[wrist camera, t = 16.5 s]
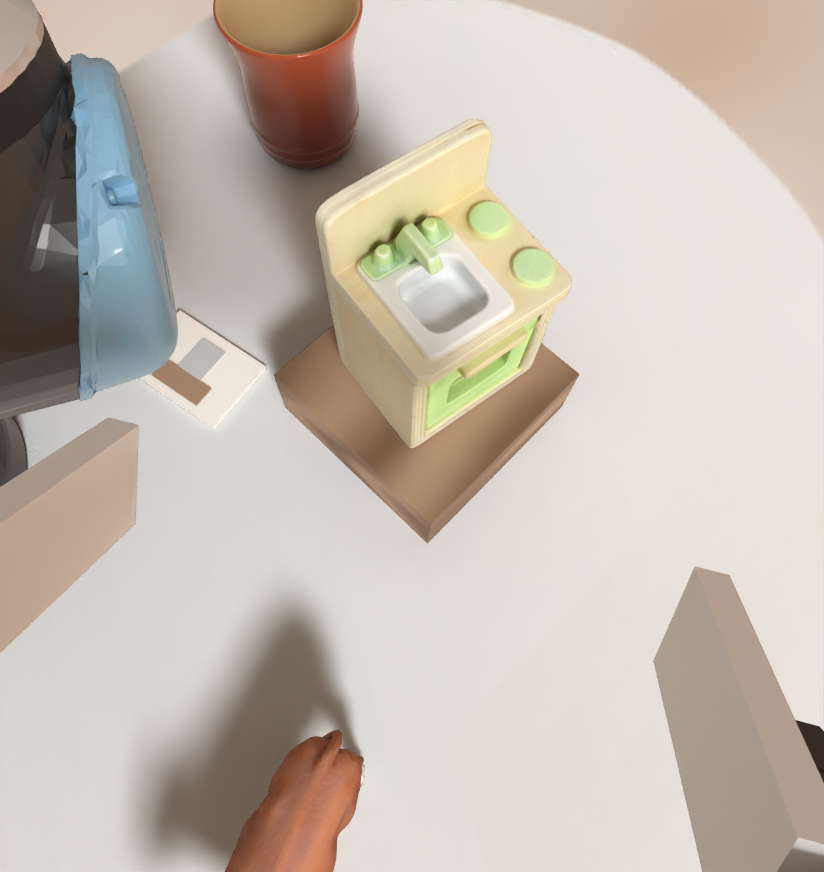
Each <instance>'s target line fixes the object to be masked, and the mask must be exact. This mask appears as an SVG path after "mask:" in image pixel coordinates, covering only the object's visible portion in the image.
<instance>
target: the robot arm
mask: <svg viewBox="0 0 824 872" xmlns="http://www.w3.org/2000/svg"><path fill="white" fill-rule="evenodd" d="M177 340H178V324H177V316H176V309H175V303H174V297H173V291H172V286H171V280H170V275H169V270H168V265H167V261H166V256H165V251H164V246H163V242H162V237H161V233H160V228H159V224H158V219H157V215H156V211H155V206H154V202H153V198H152V194H151V189H150V185H149V181H148V177H147V172H146V168H145V164H144V160H143V156H142V152H141V148H140V144H139V141H138V137H137V133H136V129H135V126H134V122H133V118H132V115H131V111H130V108H129V105H128V102H127V98H126V95H125V93H124V91H123V89H122V86H121V84H120V80H119V74H118V72H117V70H116V69H115V67H114V66H113V65H112V64H111V63H110V62H109V61H107V60H105V59H102V58H91V59H90V58H88V57H86V56H85V55H83V54H76V55H72V56H71V59H70V61H68V62H67V63H65V62H64V61H63V60H62V59H61V58H60V56H59V55H58V53H57V51H56V48H55V46H54V44H53V42H52V40H51V38H50V36H49V33H48V31H47V29H46V27H45V25H44V23H43V21H42V17H41V15H40V14H39V12H38V11H37V9H36V7H35V5H34V4H33V2H32V0H0V653H1V652H2V651H3V650H4V649H5V648H6V647H7V646H8V645H9V644H10V643H11V642H12V641H13V640H14V639H15V638H16V637H17V636H18V635H19V634H21V633H22V632H23V631H24V630H25V629H26V628H27V627H28V626H29V625H30V624H31V623H32V622H33V621H34V620H35V619H36V618H37V617H38V616H39V615H40V614H41V613H43V612H44V611H45V610H46V609H47V608H48V607H49V606H50V605H51V604H52V603H53V602H54V601H55V600H56V599H57V598H58V597H59V596H60V595H61V594H62V593H63V592H65V591H66V590H67V589H68V588H69V587H70V586H71V585H72V584H73V583H74V582H75V581H76V580H77V579H78V578H79V577H80V576H81V575H82V574H83V573H84V572H86V571H87V570H88V569H89V568H90V567H91V566H92V565H93V564H94V563H95V562H96V561H97V560H98V559H99V558H100V557H101V556H102V555H103V554H104V553H105V552H106V551H108V550H109V549H110V548H111V547H112V546H113V545H114V544H115V543H116V542H117V541H118V540H119V539H120V538H121V537H122V536H123V535H124V534H125V533H126V532H127V531H128V530H130V529H131V528H132V527H133V526H134V525H135V521H136V493H137V465H138V437H139V425H136V424H132V423H128V422H124V421H120V420H116V419H112V418H107V419H105V420H104V421H102V422H101V423H99V424H98V425H96V426H94V427H93V428H91V429H90V430H88V431H87V432H85V433H84V434H82V435H80V436H79V437H77V438H76V439H74V440H73V441H71V442H70V443H68V444H66V445H65V446H63V447H62V448H60V449H59V450H57V451H56V452H54V453H52V454H51V455H49V456H48V457H46V458H45V459H43V460H42V461H40V462H38V463H37V464H35V465H34V466H32V467H31V468H29V469H28V470H27V459H26V451H25V446H24V442H23V438H22V435H21V432H20V430H19V428H18V426H17V423H16V422H15V420H14V418H13V417H12V416H15V415H19V414H23V413H27V412H31V411H35V410H39V409H43V408H47V407H50V406H54V405H58V404H62V403H66V402H70V401H74V400H78V399H79V400H81V401H83V400H87V399H89V398H92V397H93V396H94V394H95V393H96V392H97V391H100V390H103V389H106V388H109V387H112V386H115V385H118V384H121V383H125V382H128V381H131V380H134V379H137V378H140V377H143V376H146V375H149V374H151V373H154V372H155V371H156V370H157V369H159V368H161V367H162V366H163V365H164V364H165V363H166V362H167V361H168V359H169V358H170V357H171V355H172V354H173V352H174V351H175V348H176V344H177ZM654 665H655V669H656V674H657V678H658V682H659V687H660V691H661V695H662V700H663V704H664V708H665V713H666V717H667V721H668V726H669V730H670V734H671V738H672V743H673V747H674V751H675V756H676V760H677V764H678V769H679V773H680V777H681V782H682V786H683V790H684V795H685V799H686V803H687V807H688V812H689V816H690V820H691V825H692V829H693V833H694V838H695V842H696V846H697V851H698V855H699V859H700V864H701V868H702V872H824V731H823V730H822V729H821V728H820V727H819V726H815V725H812V724H808V723H804V722H800V721H797V720H795V719H794V716H793V714H792V712H791V710H790V708H789V705H788V703H787V701H786V699H785V697H784V694H783V692H782V690H781V688H780V686H779V683H778V681H777V679H776V677H775V675H774V672H773V670H772V668H771V666H770V664H769V661H768V659H767V657H766V655H765V653H764V650H763V648H762V646H761V644H760V642H759V639H758V637H757V635H756V633H755V631H754V628H753V626H752V624H751V622H750V620H749V617H748V615H747V613H746V611H745V609H744V606H743V604H742V602H741V600H740V597H739V595H738V593H737V591H736V589H735V586H734V584H733V582H732V580H731V578H730V575H727V574H723V573H719V572H715V571H711V570H707V569H703V568H699V567H694V570H693V572H692V574H691V576H690V579H689V581H688V583H687V586H686V588H685V590H684V592H683V595H682V597H681V599H680V602H679V604H678V606H677V608H676V611H675V613H674V615H673V617H672V620H671V622H670V624H669V627H668V629H667V631H666V633H665V636H664V638H663V640H662V643H661V645H660V647H659V649H658V652H657V654H656V656H655V658H654Z"/></svg>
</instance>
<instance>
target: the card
mask: <svg viewBox="0 0 824 872" xmlns="http://www.w3.org/2000/svg"><path fill="white" fill-rule="evenodd" d="M176 316H177V324H178V340H177V344H176V348H175V351H174V352H173V354H172V355H171V357H170V358H169V359H168V361H167V362H166V363H165V364H164V365H163V366H162V367H161V368H159V369H157V370H156V371H155V372H154V373H151V374H149V375H146V376H143V377H140V379H142V380H143V381H145V382H146V383H148V384H149V385H151V386H152V387H154V388H155V389H156V390H158V391H159V392H161V393H162V394H164V395H165V396H167V397H168V398H170V399H171V400H172V401H174V402H175V403H177V404H178V405H180V406H181V407H183V408H184V409H186V410H187V411H188V412H190V413H191V414H193V415H194V416H196V417H197V418H199V419H200V420H202V421H203V422H204V423H206V424H207V425H209V426H210V427H212V428H213V429H215V428H216V426H217V425H218V424H219V423H220V422H221V421H222V419H223V418H224V417H225V416H226V415H227V414H228V412H229V411H230V410H231V409H232V408H233V407H234V405H235V404H236V403H237V402H238V401H239V400H240V398H241V397H242V396H243V395H244V394H245V393H246V391H247V390H248V389H249V388H250V387H251V386H252V384H253V383H254V382H255V381H256V380H257V379H258V377H259V376H260V375H261V374H262V373H263V372H264V371H265V369H266V366H265V365H263V364H262V363H260V362H258V361H257V360H255V359H254V358H252V357H251V356H249V355H248V354H246V353H245V352H243V351H242V350H240V349H239V348H237V347H236V346H234V345H232V344H231V343H229V342H228V341H226V340H225V339H223V338H222V337H220V336H219V335H217V334H216V333H214V332H213V331H211V330H210V329H208V328H207V327H205V326H203V325H202V324H200V323H199V322H197V321H196V320H194V319H193V318H191V317H190V316H188V315H187V314H185V313H184V312H182V311H181V310H179V311H178V312H177V313H176Z"/></svg>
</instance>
